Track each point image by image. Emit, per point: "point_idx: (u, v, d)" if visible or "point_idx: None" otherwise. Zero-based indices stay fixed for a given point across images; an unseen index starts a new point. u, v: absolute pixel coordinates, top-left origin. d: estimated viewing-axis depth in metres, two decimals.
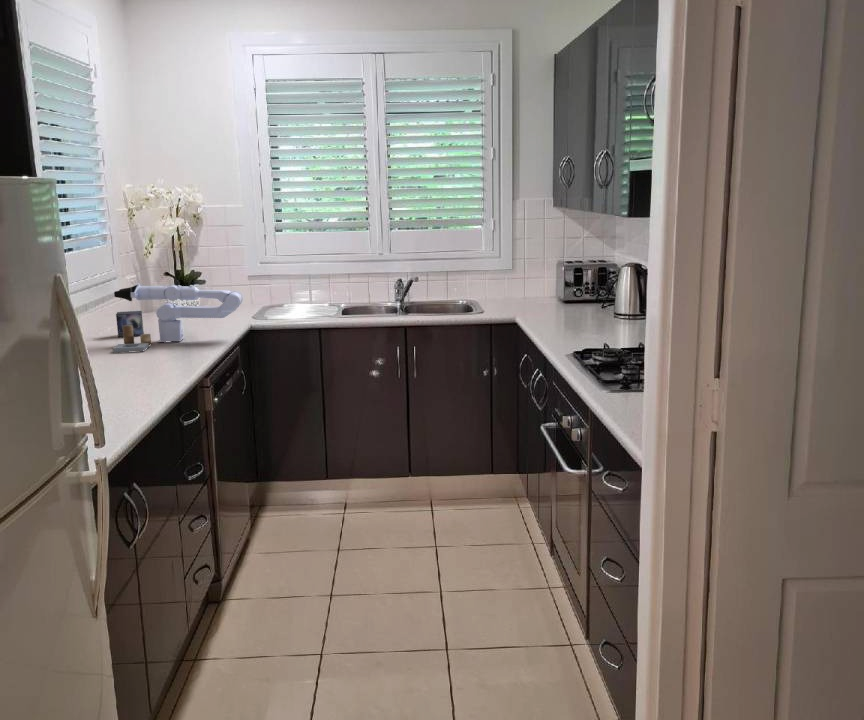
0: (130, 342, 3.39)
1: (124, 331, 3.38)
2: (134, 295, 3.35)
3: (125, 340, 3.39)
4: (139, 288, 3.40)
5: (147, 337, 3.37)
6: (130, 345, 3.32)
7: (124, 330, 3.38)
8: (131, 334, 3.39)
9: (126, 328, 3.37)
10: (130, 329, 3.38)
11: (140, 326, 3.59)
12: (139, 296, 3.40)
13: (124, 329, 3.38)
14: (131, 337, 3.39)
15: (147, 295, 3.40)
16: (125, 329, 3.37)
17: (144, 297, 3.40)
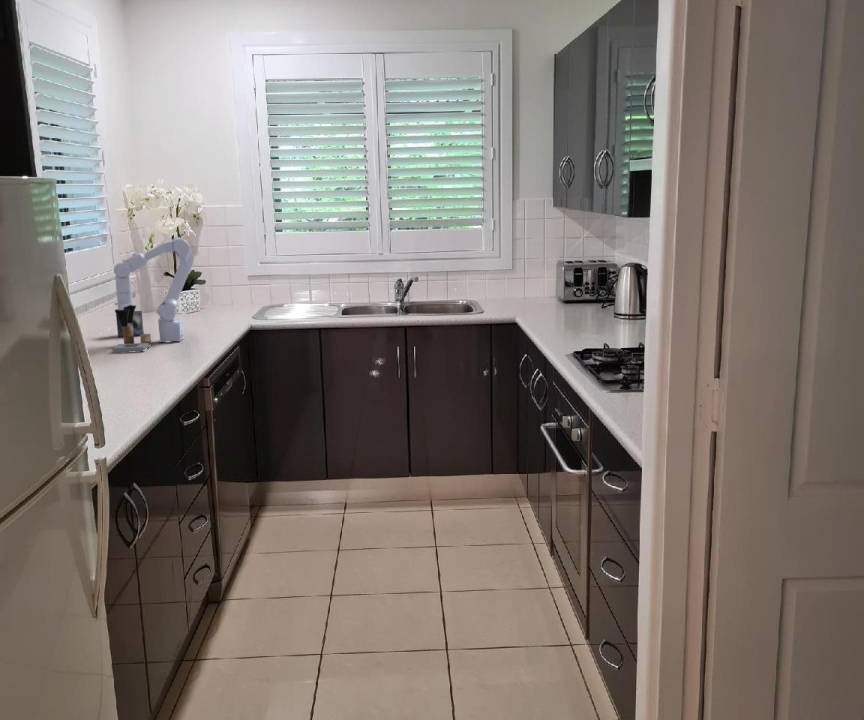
0: (130, 342, 3.39)
1: (124, 331, 3.38)
2: (120, 306, 3.30)
3: (125, 340, 3.39)
4: (118, 302, 3.35)
5: (147, 337, 3.37)
6: (130, 345, 3.32)
7: (124, 330, 3.38)
8: (131, 334, 3.39)
9: (126, 328, 3.37)
10: (130, 329, 3.38)
11: (140, 326, 3.59)
12: (126, 302, 3.34)
13: (124, 329, 3.38)
14: (131, 337, 3.39)
15: (124, 294, 3.33)
16: (125, 329, 3.37)
17: (127, 297, 3.34)
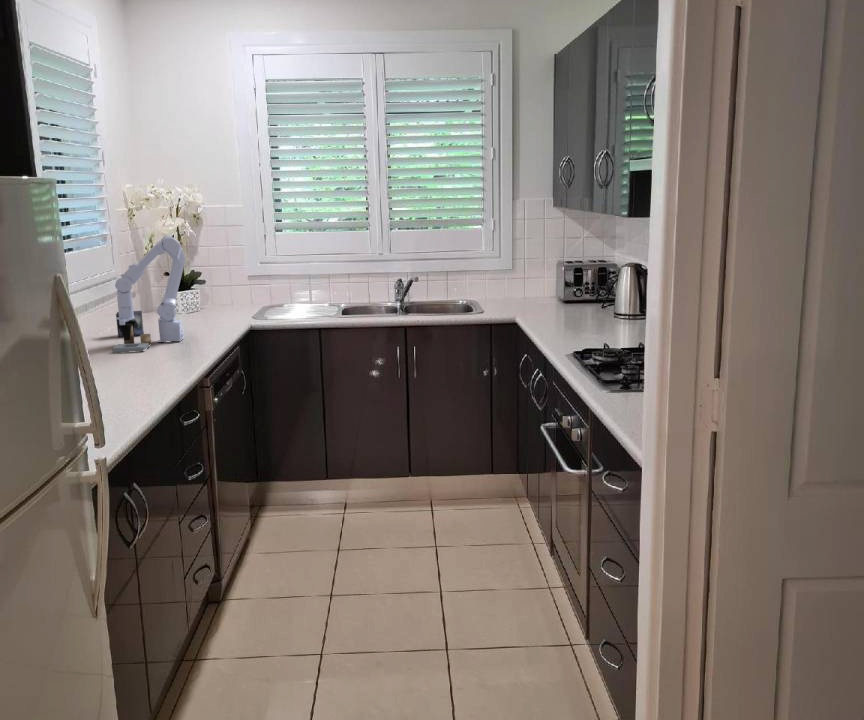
0: (130, 342, 3.39)
1: None
2: (122, 321, 3.31)
3: (125, 340, 3.39)
4: (120, 317, 3.36)
5: (147, 337, 3.37)
6: (130, 345, 3.32)
7: None
8: (131, 334, 3.39)
9: None
10: None
11: (140, 326, 3.59)
12: (127, 317, 3.36)
13: None
14: (131, 337, 3.39)
15: (125, 309, 3.35)
16: None
17: (128, 312, 3.36)
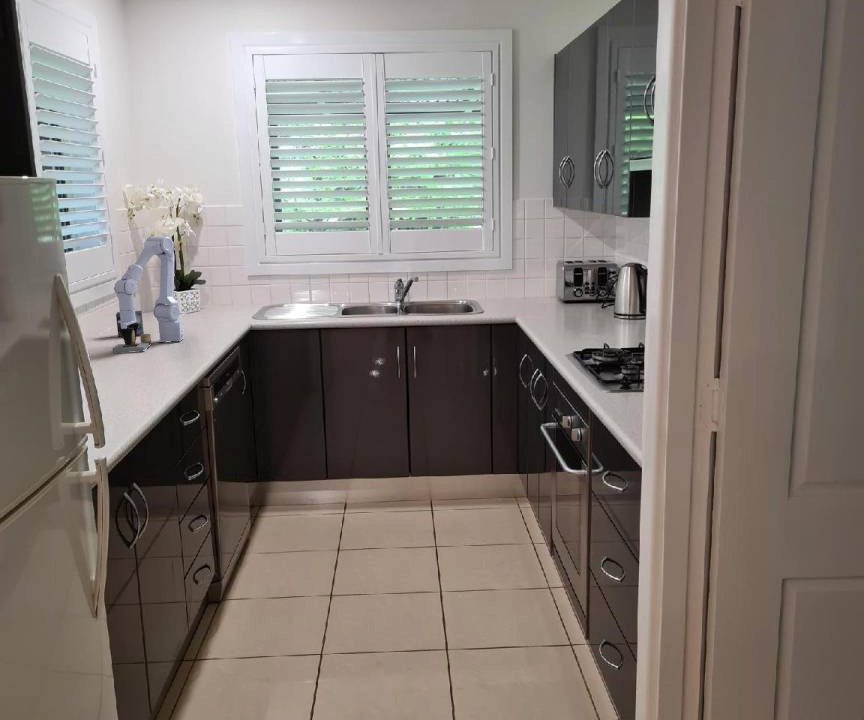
0: None
1: None
2: (123, 324, 3.20)
3: (126, 346, 3.27)
4: (121, 320, 3.25)
5: (147, 337, 3.37)
6: None
7: None
8: (133, 339, 3.27)
9: None
10: (132, 334, 3.27)
11: (140, 326, 3.59)
12: (129, 320, 3.24)
13: None
14: (133, 342, 3.28)
15: (127, 312, 3.23)
16: None
17: (130, 315, 3.24)
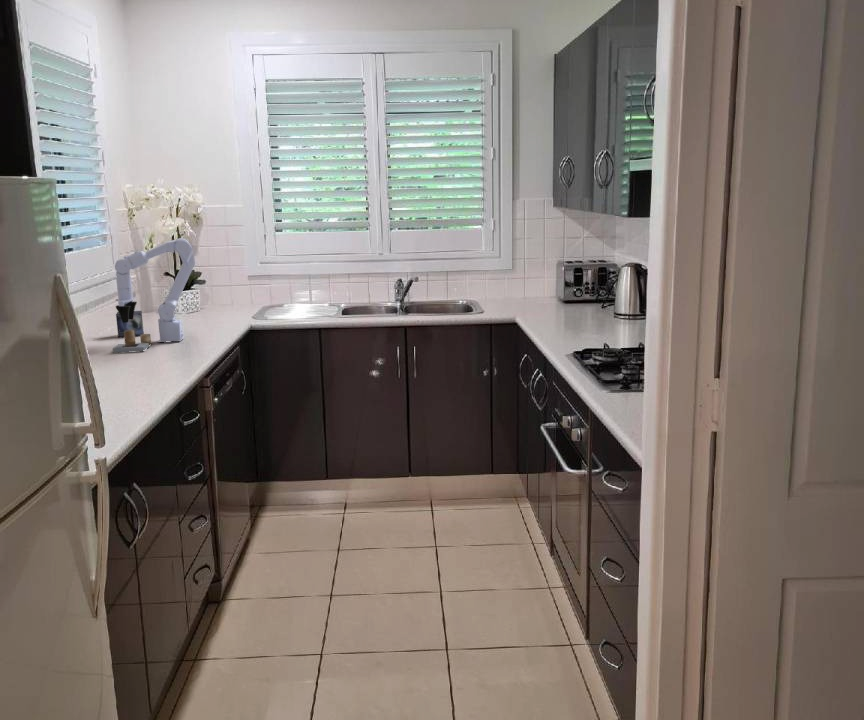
0: None
1: (125, 336, 3.26)
2: (121, 302, 3.31)
3: (126, 346, 3.27)
4: (119, 298, 3.36)
5: (147, 337, 3.37)
6: None
7: (125, 335, 3.26)
8: (133, 339, 3.27)
9: (127, 333, 3.26)
10: (132, 334, 3.27)
11: (140, 326, 3.59)
12: (126, 298, 3.36)
13: (125, 334, 3.26)
14: (133, 342, 3.28)
15: (124, 290, 3.35)
16: (127, 334, 3.26)
17: (127, 294, 3.35)
